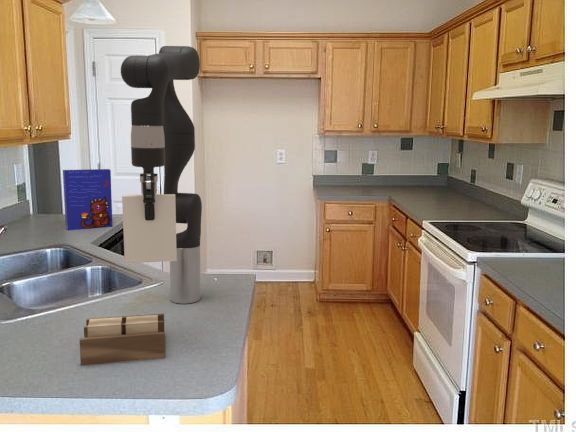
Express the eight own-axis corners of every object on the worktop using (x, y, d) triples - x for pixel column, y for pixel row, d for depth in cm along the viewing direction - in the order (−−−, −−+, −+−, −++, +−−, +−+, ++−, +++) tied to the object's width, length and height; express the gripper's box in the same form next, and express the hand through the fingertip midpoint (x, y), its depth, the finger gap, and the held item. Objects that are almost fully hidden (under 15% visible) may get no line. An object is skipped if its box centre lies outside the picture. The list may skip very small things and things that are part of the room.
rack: (88, 346, 123) (86, 318, 121) (164, 340, 127) (163, 313, 126) (80, 370, 111) (79, 340, 109) (165, 362, 115) (165, 333, 114)
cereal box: (109, 224, 270) (107, 168, 265) (112, 226, 265) (110, 169, 260) (65, 228, 258) (62, 169, 253) (67, 230, 253) (64, 170, 248)
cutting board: (125, 260, 122) (122, 194, 119) (176, 258, 125) (175, 194, 122) (124, 263, 120) (122, 196, 117) (176, 260, 122) (175, 195, 119)
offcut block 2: (127, 349, 119) (126, 316, 117) (158, 346, 121) (157, 314, 119) (126, 357, 114) (125, 324, 113) (158, 354, 116) (157, 321, 115)
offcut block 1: (91, 352, 117) (89, 319, 115) (123, 349, 118) (122, 317, 117) (88, 360, 112) (87, 326, 111) (122, 358, 114) (120, 324, 113)
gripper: (164, 147, 111) (166, 224, 115) (164, 144, 125) (165, 213, 128) (129, 147, 110) (132, 225, 113) (132, 143, 123) (134, 213, 126)
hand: (150, 218), depth 120 cm, fingers closed on cutting board, 2 cm apart
